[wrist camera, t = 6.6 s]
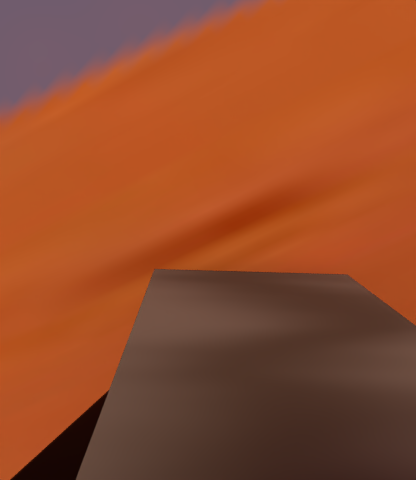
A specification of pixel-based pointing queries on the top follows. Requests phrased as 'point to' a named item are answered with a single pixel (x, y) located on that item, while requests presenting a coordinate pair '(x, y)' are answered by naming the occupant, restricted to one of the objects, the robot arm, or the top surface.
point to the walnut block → (260, 383)
